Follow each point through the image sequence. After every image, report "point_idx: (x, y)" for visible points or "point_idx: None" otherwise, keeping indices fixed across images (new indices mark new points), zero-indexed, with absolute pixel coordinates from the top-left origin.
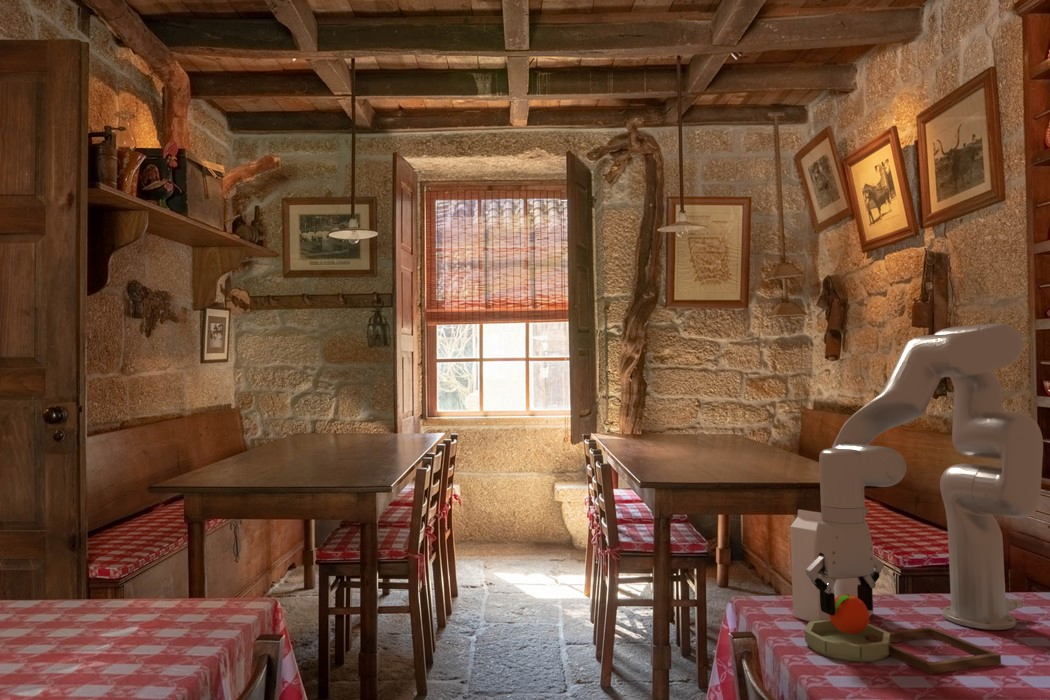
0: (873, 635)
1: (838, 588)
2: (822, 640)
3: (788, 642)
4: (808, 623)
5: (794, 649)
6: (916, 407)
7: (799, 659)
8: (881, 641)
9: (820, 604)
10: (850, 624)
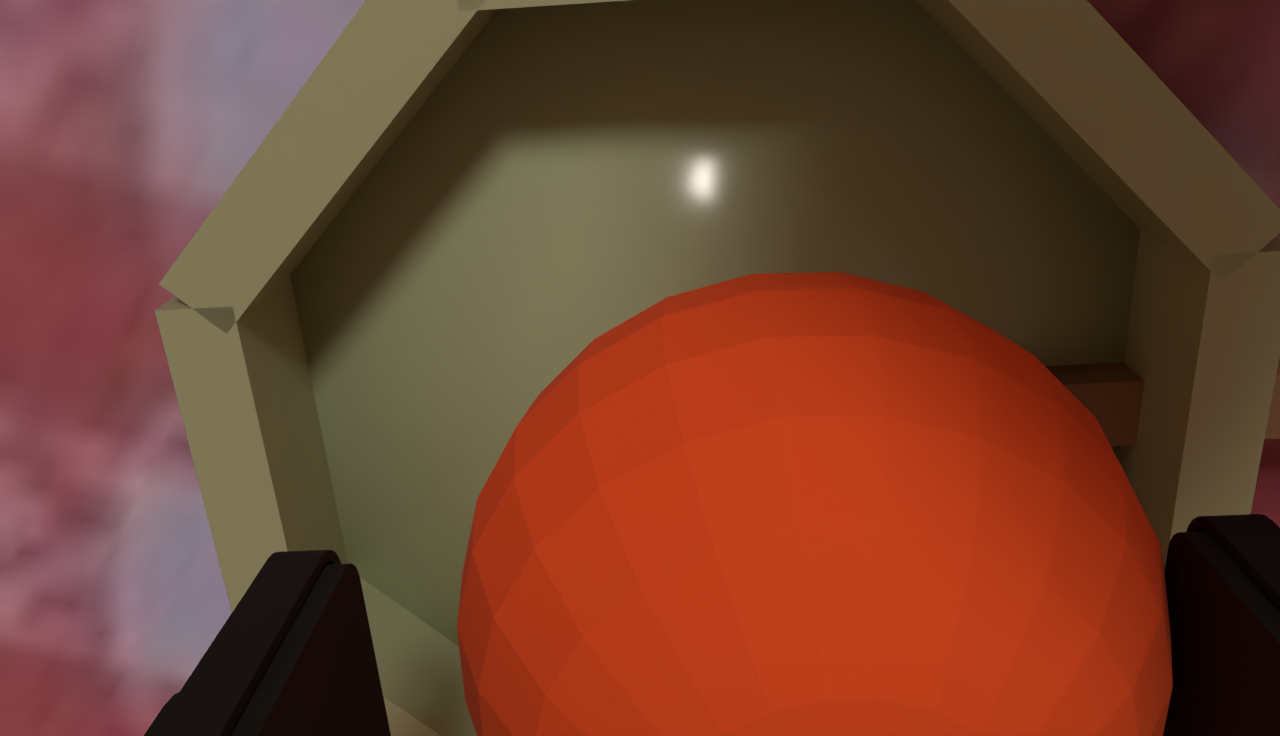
0: (1129, 413)
1: None
2: None
3: (84, 60)
4: (369, 5)
5: (71, 291)
6: None
7: (19, 538)
8: None
9: (157, 723)
10: None
